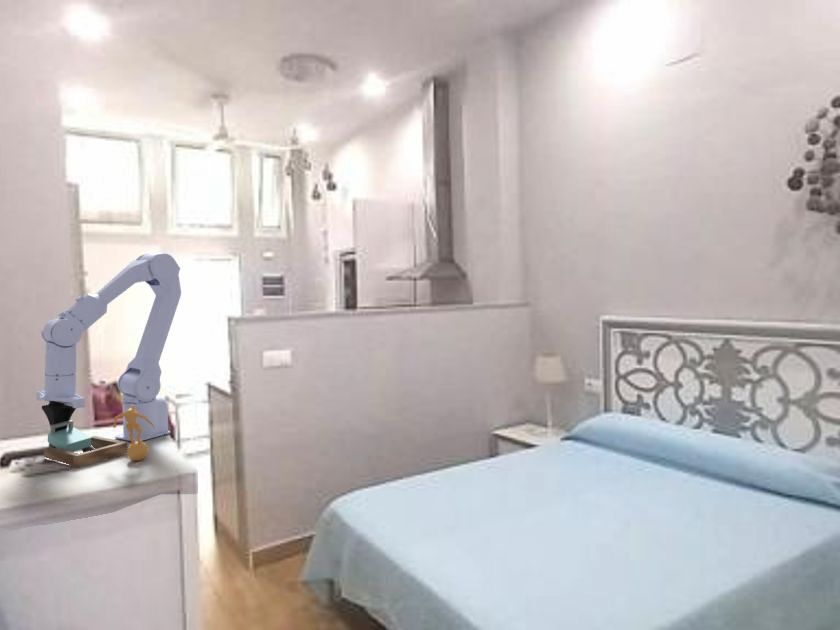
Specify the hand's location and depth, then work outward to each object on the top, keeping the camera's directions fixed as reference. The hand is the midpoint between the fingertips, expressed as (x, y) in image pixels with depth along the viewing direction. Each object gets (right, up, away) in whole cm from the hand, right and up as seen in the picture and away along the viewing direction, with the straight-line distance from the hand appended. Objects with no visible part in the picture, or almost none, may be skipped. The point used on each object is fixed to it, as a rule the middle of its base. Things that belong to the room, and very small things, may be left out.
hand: (59, 436), depth 125 cm
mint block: (+3, -3, -1) cm, 4 cm away
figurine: (+19, -4, -6) cm, 21 cm away
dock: (+7, -4, -2) cm, 8 cm away
